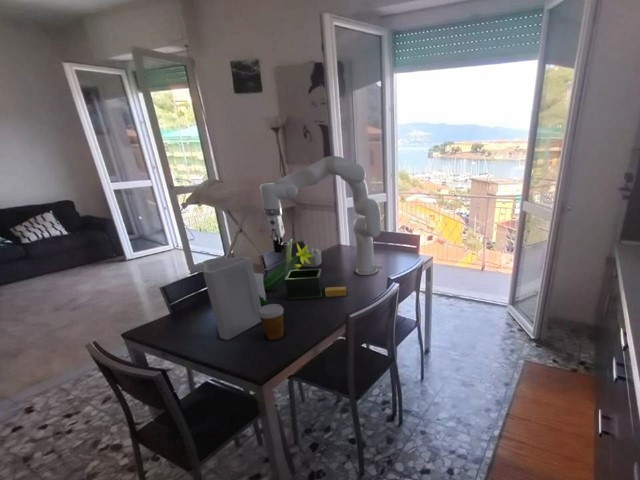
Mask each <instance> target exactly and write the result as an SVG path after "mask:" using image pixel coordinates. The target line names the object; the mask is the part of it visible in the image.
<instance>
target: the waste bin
mask: <svg viewBox="0 0 640 480" xmlns="http://www.w3.org/2000/svg"><path fill="white" fill-rule="evenodd" d="M284 281H285V287H286V292H287V293H286V294H287V299H288V301H294V300H309V299H313V300H314V299H322V296H323V290H324V284H323V283H324V282H323V275H322V269H321V268H313V269H312V268H311V269H299V270H290V271H289V273H288V275H287V277H286V279H285V280H284Z"/></svg>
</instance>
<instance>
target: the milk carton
mask: <svg viewBox="0 0 640 480" xmlns="http://www.w3.org/2000/svg"><path fill="white" fill-rule="evenodd" d="M254 273H255V278H256V283H257V288H258V293H259V298H260V303H261V307H263V306H265V305H269V304H268V301H267V296H266V291H265V288H264V286H265V284H264V285H263V280H264V273H258V272H254Z"/></svg>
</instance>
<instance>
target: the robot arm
mask: <svg viewBox="0 0 640 480" xmlns="http://www.w3.org/2000/svg"><path fill="white" fill-rule="evenodd" d="M366 175H367V172H366V169H365V168H364V167H363V166H362V165H361V164H359V163H356V162H354V161H352V160H349V159H347V158H345V157H342V156H337V155H328V156H325V157H323V158H322V159H320V160H317V161H316V162H313V163H312V164H310V165H309V166H308V165H307V166H306V167H304V168H301V169H299V170H296V171H294V172H291V173H288V174H287V175H285V176H283V177H281V178H279V179H277V180H276V181H275V182H268V183H267V182H265V183H262V184H261V185H259V191H260V196H261V201H262V206H263V212H264V217H266V218H267V225H268V233H269V236H270V238H271V240H272V244H273V250H274V253H275V254H279V253H282V252H283V250H284V249H285V247H281V244H280V242H281V241H282V242H283V243H284V239H283V236H284V235H285V233H286V232H285V227H284V222H283V218H282V215H283V210H282V204H281V200H292V199H294V198H296V197H297V195H298V192H299V191H298V189H300V188H305V187H311V186H315V185H317V184H320V183H321V182H323V181H325V180H326V179H328V178H330V177H331V176H339V177H340V179H341V180H343V181H345V183H347V184H348V186H349V187H350V190H351V191H350V192H351V197H352V206H353V211H354V213H356V215H358V217H357V218H355V220H354V221H353V224H352V225H353V232H354V236H355V245H356V257H357V258H356V259H357V268H356V269H355V273H356V274H357V275H359V276H370V275H375V274H376V273H378V269H380V270H382V269H383V265H382V264H376V263H375V252H374V249H375V248H374V238H377V237H379V236H380V235H381V232H382V216H381V206H380V204H379V202H378V201H377V200H376V199H374V198H370V197H369V190H368V186H367V185H368V184H367V182H366V180H365V179H366V177H367V176H366Z"/></svg>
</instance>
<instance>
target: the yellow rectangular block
mask: <svg viewBox="0 0 640 480" xmlns="http://www.w3.org/2000/svg"><path fill="white" fill-rule="evenodd" d="M324 294H325V297H326V298H329V297H343V296H344V297H346V296H347V286H331V287H330V286H328V287H325V289H324Z"/></svg>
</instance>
